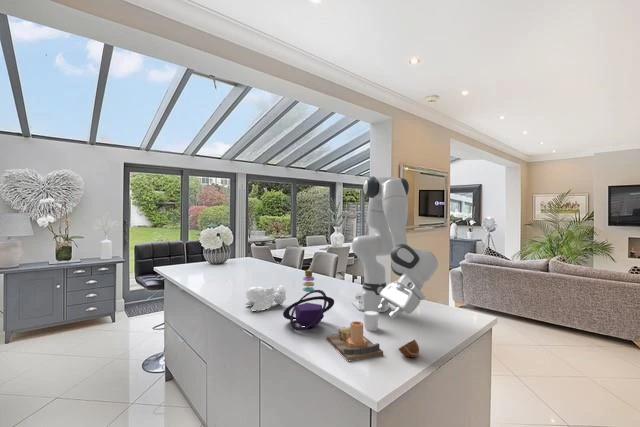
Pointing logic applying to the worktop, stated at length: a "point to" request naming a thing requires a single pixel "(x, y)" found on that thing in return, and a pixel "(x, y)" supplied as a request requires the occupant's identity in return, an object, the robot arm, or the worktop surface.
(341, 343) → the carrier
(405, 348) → the fruit slice
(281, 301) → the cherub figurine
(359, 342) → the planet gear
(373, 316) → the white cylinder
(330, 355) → the worktop surface
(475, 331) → the worktop surface
